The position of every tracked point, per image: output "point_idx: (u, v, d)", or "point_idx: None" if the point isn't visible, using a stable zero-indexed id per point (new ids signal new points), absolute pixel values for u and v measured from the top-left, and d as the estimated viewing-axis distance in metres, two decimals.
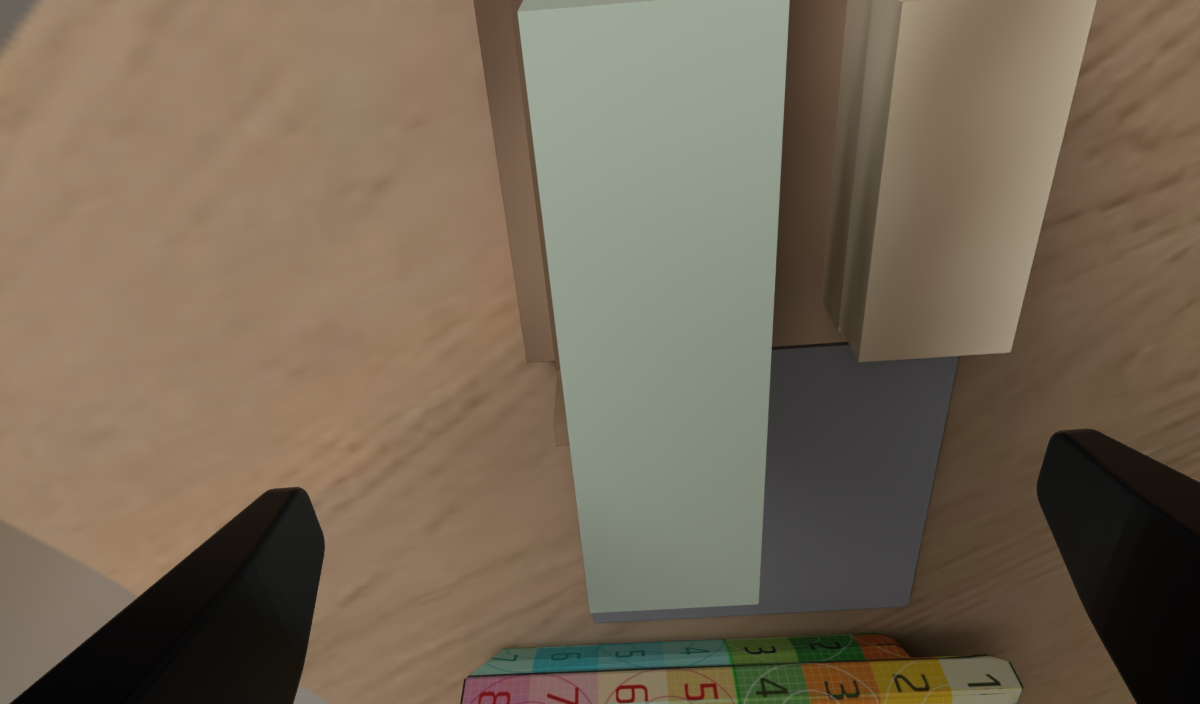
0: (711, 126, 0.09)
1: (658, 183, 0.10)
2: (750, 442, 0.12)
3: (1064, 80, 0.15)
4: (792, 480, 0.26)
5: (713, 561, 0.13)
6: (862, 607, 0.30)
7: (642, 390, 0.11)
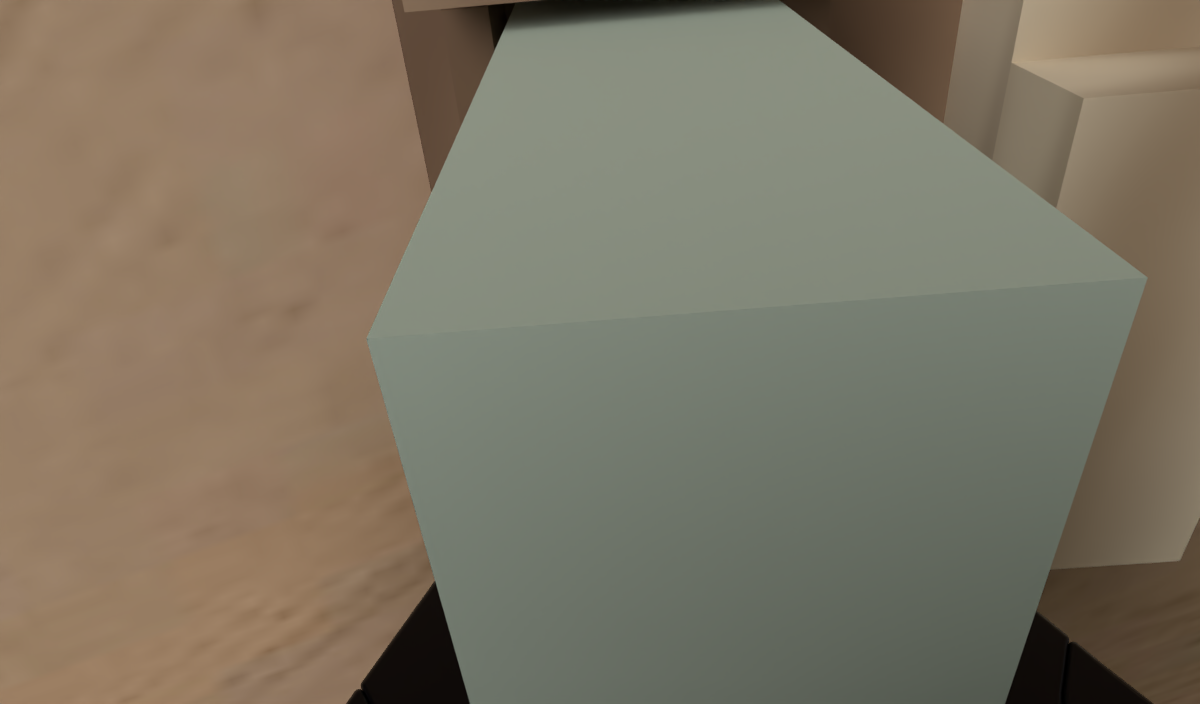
0: (877, 557, 0.04)
1: (741, 652, 0.04)
2: None
3: None
4: None
5: None
6: None
7: None
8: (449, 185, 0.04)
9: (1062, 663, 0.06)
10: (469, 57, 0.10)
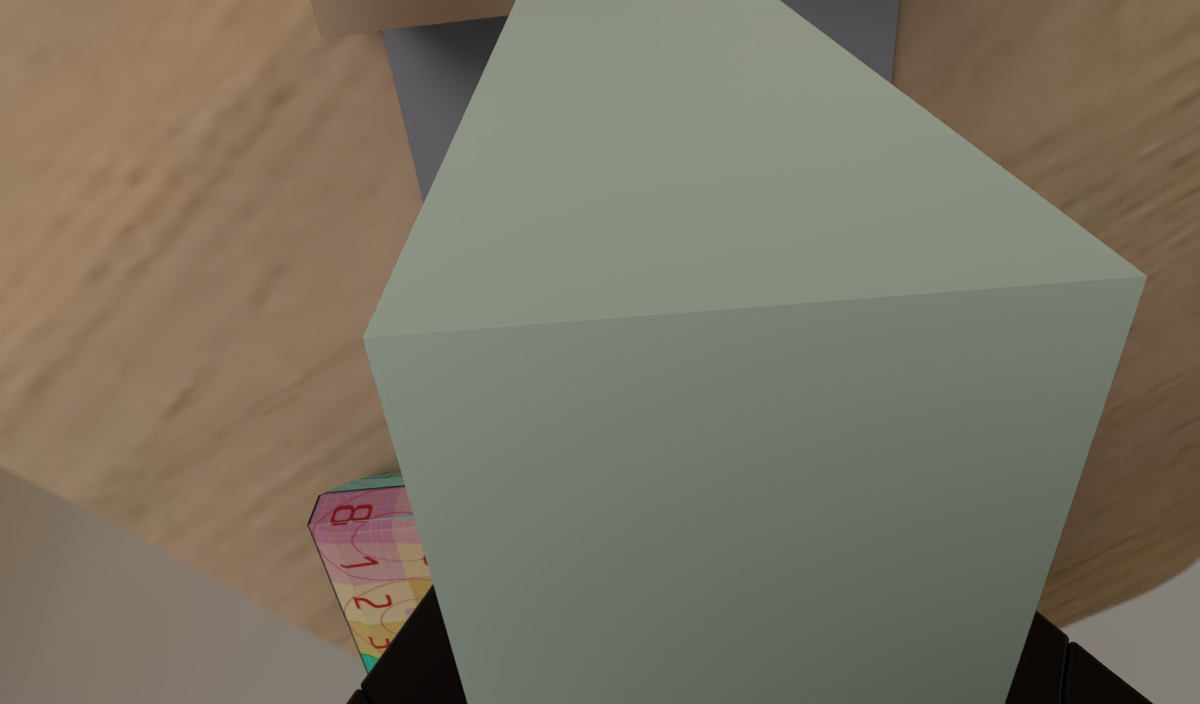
0: (876, 556, 0.04)
1: (738, 653, 0.04)
2: None
3: None
4: None
5: None
6: None
7: None
8: (446, 184, 0.04)
9: (1062, 663, 0.06)
10: None
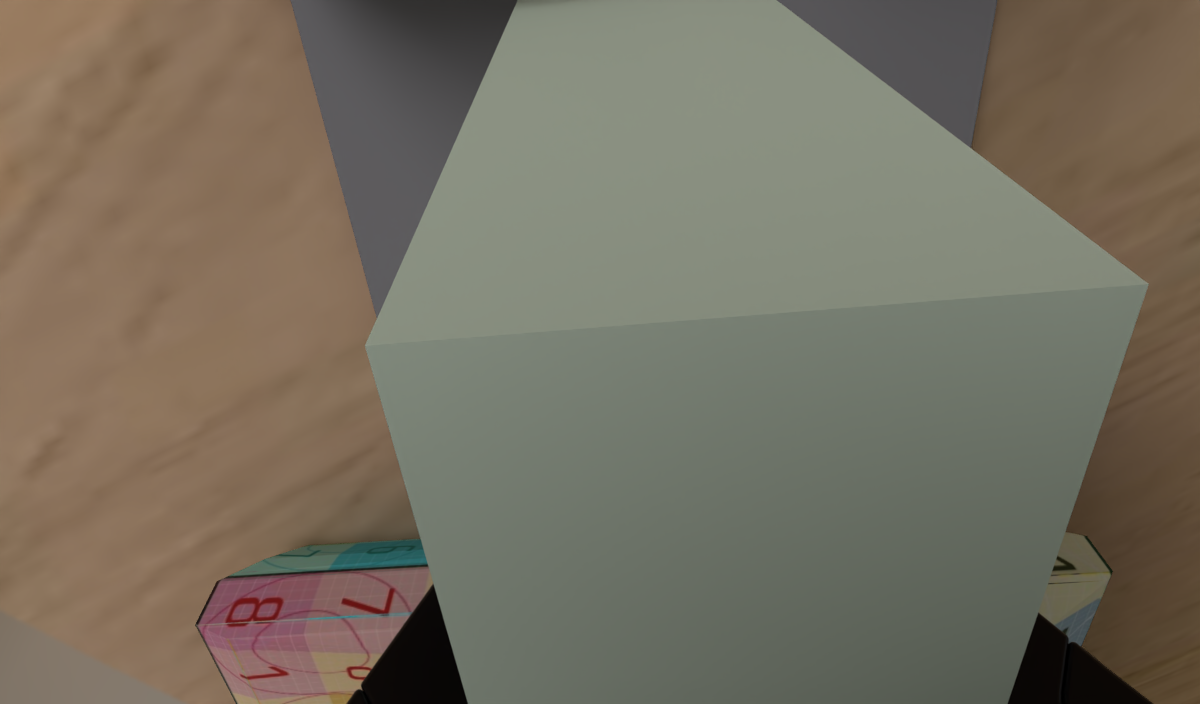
0: (879, 564, 0.04)
1: (741, 658, 0.04)
2: None
3: None
4: None
5: None
6: None
7: None
8: (448, 190, 0.04)
9: (1062, 663, 0.06)
10: None
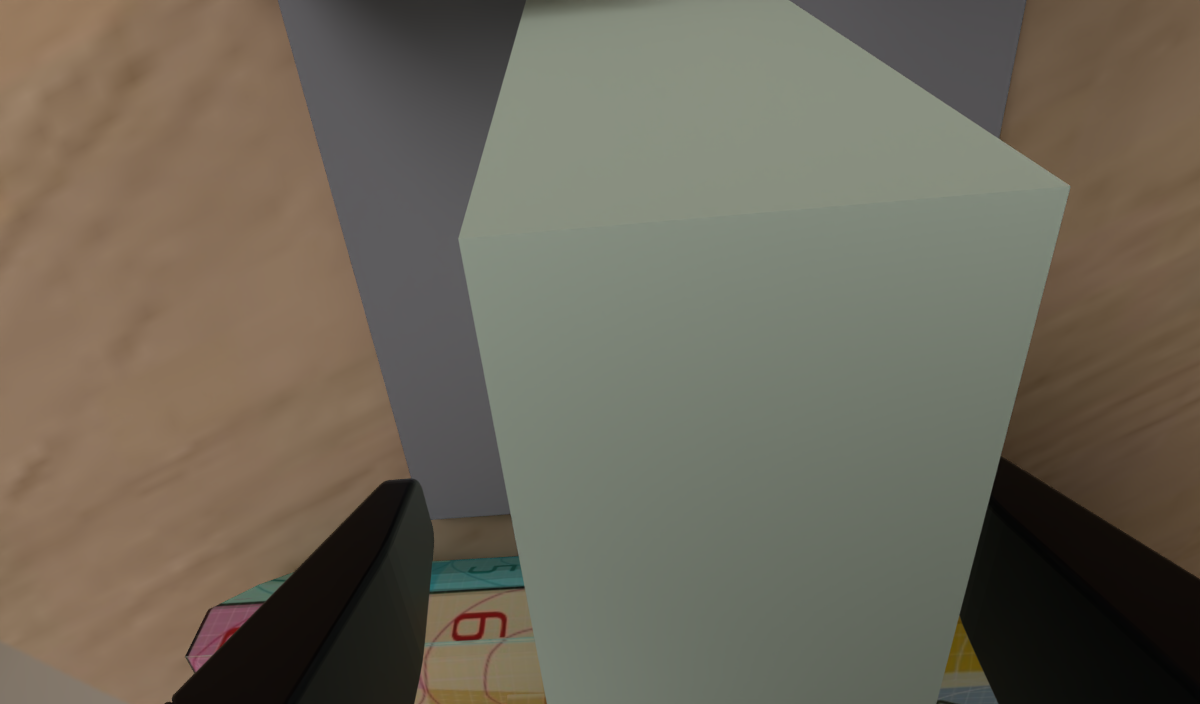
0: (865, 433, 0.05)
1: (749, 520, 0.05)
2: None
3: None
4: None
5: None
6: None
7: None
8: (500, 136, 0.05)
9: None
10: None
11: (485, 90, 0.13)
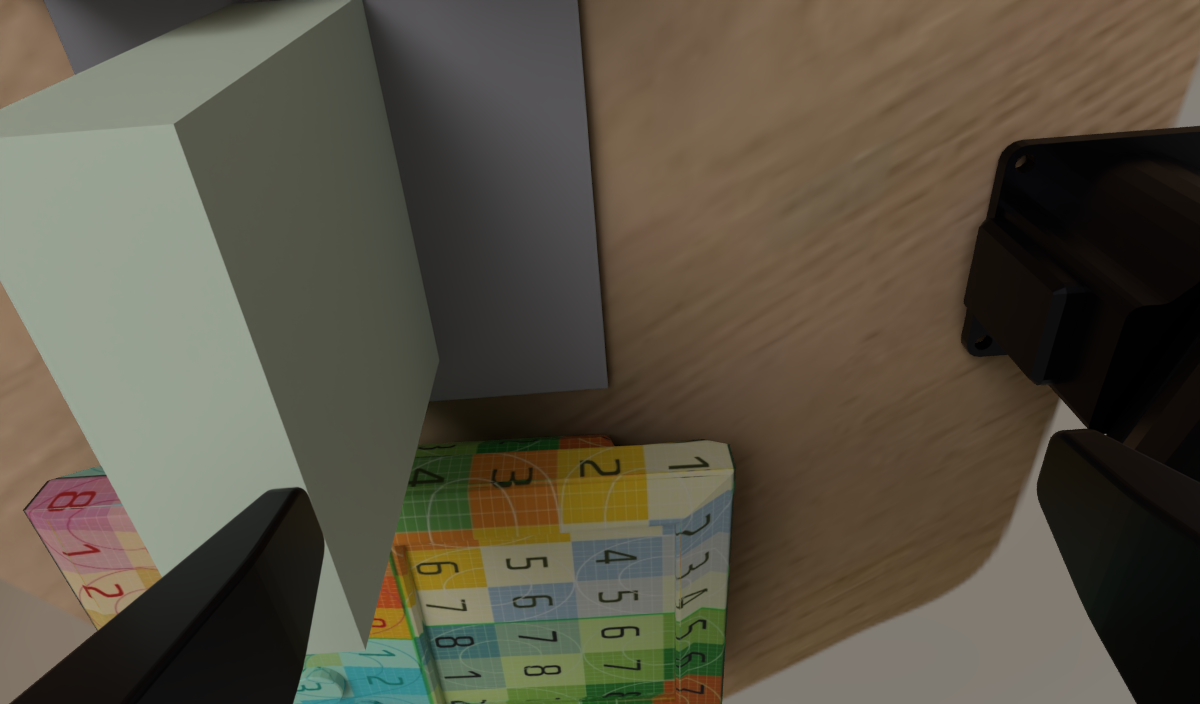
0: (147, 239, 0.10)
1: (118, 288, 0.10)
2: None
3: None
4: (409, 192, 0.20)
5: None
6: (552, 390, 0.24)
7: (177, 465, 0.12)
8: (13, 105, 0.11)
9: None
10: None
11: None
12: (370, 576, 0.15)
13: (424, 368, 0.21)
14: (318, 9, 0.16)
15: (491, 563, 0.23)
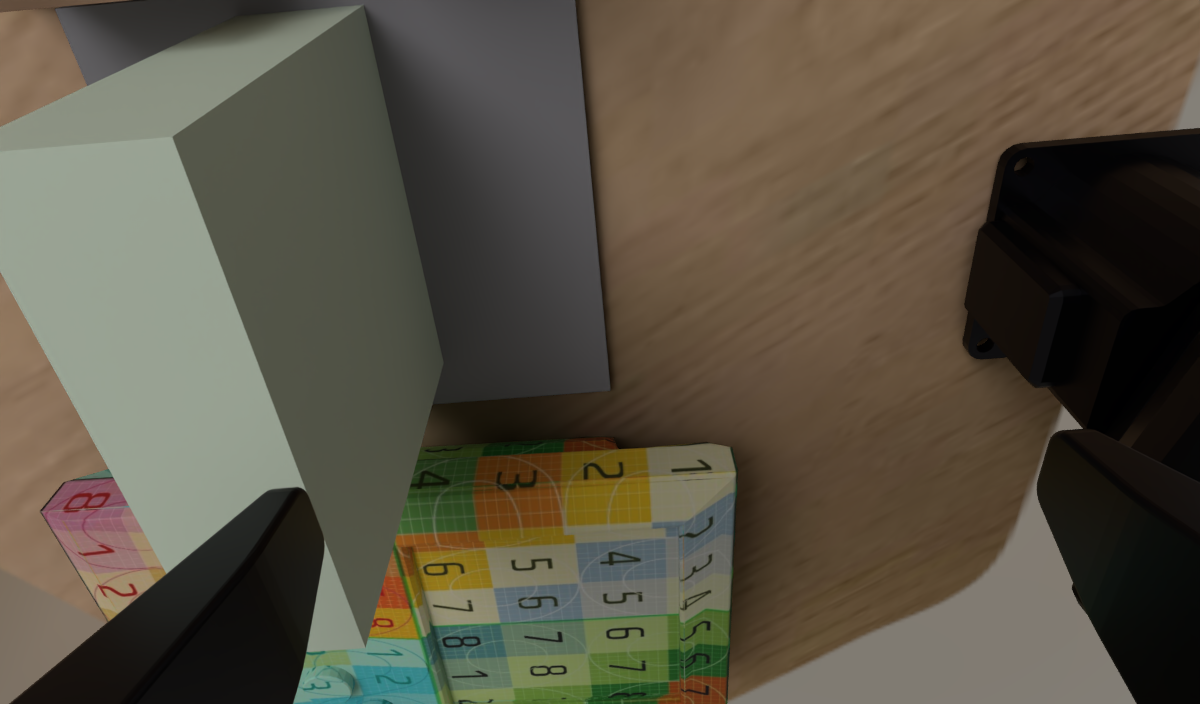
0: (149, 247, 0.10)
1: (122, 294, 0.11)
2: None
3: None
4: (412, 198, 0.21)
5: None
6: (555, 393, 0.24)
7: (181, 466, 0.13)
8: (22, 118, 0.11)
9: None
10: None
11: None
12: (371, 575, 0.16)
13: (428, 371, 0.22)
14: (321, 20, 0.17)
15: (496, 564, 0.24)
